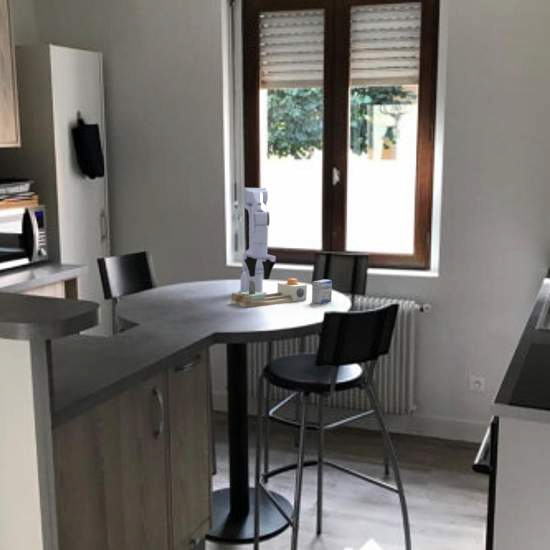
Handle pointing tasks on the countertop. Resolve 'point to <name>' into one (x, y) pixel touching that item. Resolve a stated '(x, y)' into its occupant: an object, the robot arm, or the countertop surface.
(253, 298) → the carriage
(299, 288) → the end cabinet
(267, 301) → the rail track
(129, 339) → the countertop surface
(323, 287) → the medicine box
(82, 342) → the countertop surface
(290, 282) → the button
